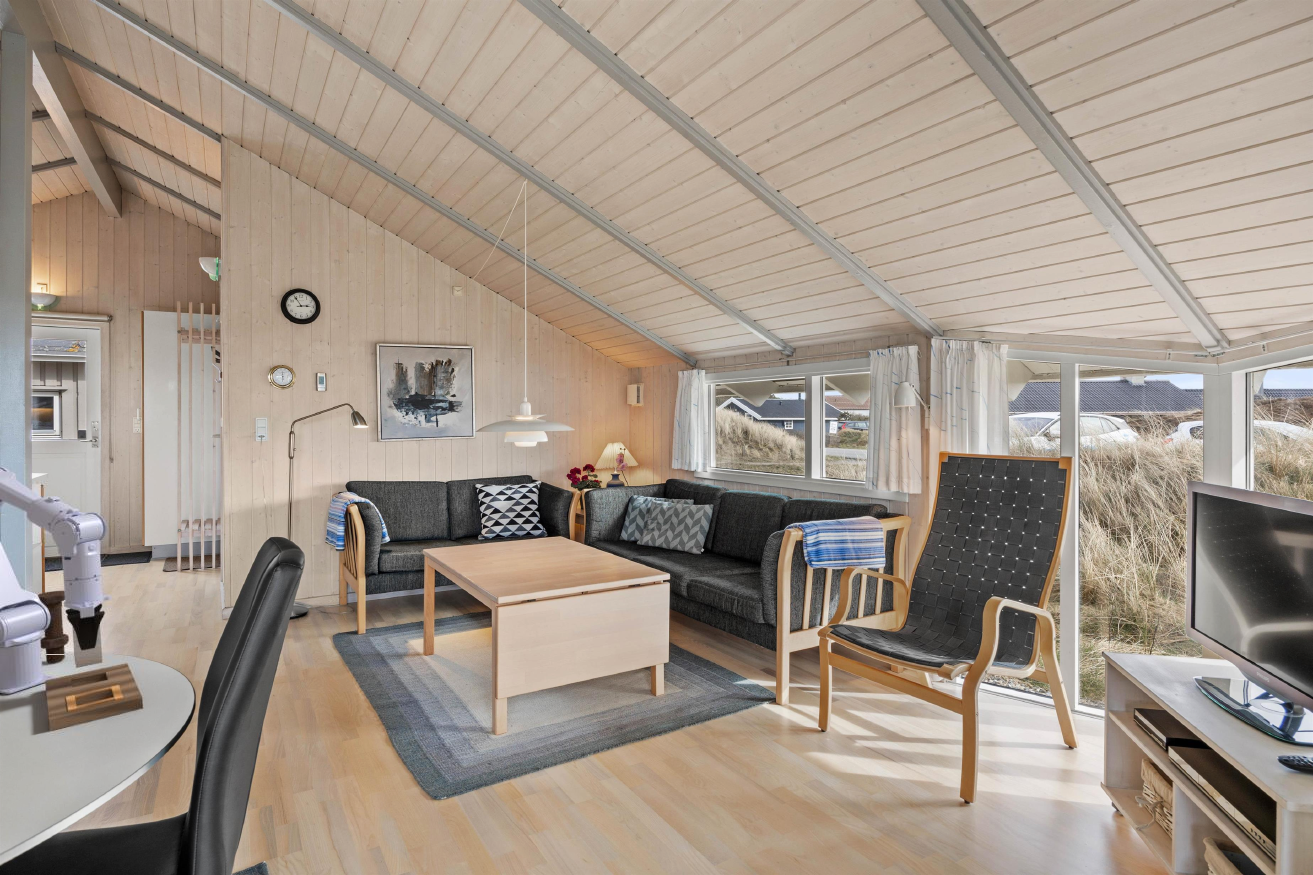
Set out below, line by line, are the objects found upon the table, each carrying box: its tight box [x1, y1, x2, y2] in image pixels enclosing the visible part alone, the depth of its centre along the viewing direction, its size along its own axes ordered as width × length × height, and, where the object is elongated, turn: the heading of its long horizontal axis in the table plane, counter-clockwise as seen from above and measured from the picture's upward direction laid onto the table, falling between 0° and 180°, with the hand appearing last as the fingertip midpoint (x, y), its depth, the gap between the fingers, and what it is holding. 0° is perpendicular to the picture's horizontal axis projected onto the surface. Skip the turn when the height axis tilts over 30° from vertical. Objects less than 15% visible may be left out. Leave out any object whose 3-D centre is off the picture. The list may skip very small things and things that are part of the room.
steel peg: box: [71, 624, 103, 669], centre depth 140 cm, size 4×4×8 cm
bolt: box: [37, 590, 70, 664], centre depth 157 cm, size 6×5×15 cm
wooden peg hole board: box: [44, 662, 144, 732], centre depth 136 cm, size 24×13×2 cm, turn 42°
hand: (87, 645), depth 140 cm, fingers closed on steel peg, 4 cm apart
